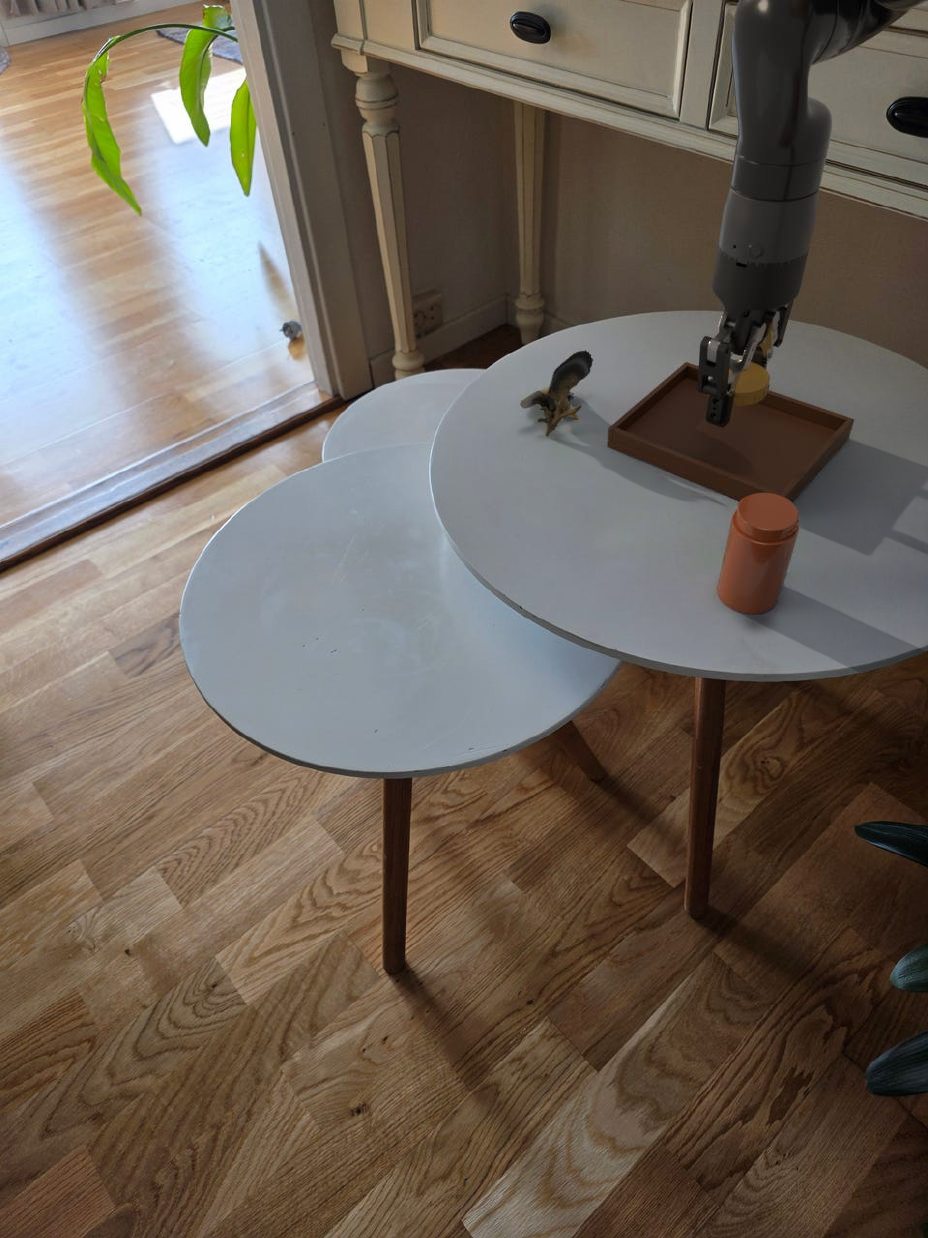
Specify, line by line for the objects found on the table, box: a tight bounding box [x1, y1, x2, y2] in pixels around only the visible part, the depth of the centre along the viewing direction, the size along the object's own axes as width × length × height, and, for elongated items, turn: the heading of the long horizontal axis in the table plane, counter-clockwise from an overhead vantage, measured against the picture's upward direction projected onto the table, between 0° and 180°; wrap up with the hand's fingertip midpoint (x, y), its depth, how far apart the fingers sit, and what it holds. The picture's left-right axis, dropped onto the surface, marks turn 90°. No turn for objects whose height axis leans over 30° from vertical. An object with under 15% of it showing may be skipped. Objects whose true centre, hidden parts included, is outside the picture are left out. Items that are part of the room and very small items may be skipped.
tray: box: [606, 361, 855, 503], centre depth 89 cm, size 19×15×2 cm
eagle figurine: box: [519, 350, 594, 437], centre depth 93 cm, size 8×7×9 cm
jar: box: [716, 493, 800, 615], centre depth 72 cm, size 5×5×9 cm
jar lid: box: [708, 359, 771, 406], centre depth 84 cm, size 6×6×2 cm
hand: (733, 407), depth 86 cm, fingers closed on jar lid, 6 cm apart
